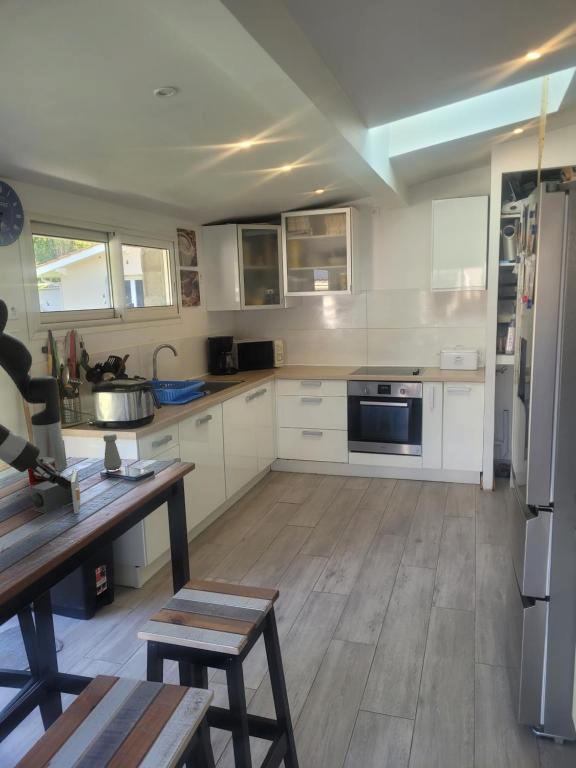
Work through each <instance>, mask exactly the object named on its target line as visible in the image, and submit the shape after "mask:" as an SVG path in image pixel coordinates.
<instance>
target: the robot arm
mask: <svg viewBox="0 0 576 768" xmlns="http://www.w3.org/2000/svg"><path fill="white" fill-rule="evenodd" d="M8 319H9V311H8V305H7V303H6V302H5V300H4V299H3V298H1V297H0V367H1V368H2V369H3V370H4V371H5V372H6V374H8V376H9V378H10V379H11V380H12V382H13V383H14V384H15V386H16V388H17V389H18V392H19V393H20V395H21V397H22V398H23V399H24V401H25V402H27V403H28V404H32V405H33V404H34V405H38V404H45V408H44V409H43V410H42V411H39V412H37V413H35V414H32V415H31V416H30V421H31V430H32V437H33V438H32V439H33V443H31V442H30V441H28V440H27V439H26V438H24V437H23V436H21V435H19V434H18V433H16V432H14V431H11V430H10V429H9V428H7V427H6V426H5V425H3V424H1V423H0V460H1V461H3V462H4V463H6V464H7V465H9V466H10V467H12V468H14V469H15V470H16V471H18V472H20V473H24V472H26V471H28V468H31V469H32V470H33V473H34V474H36V475H37V476H41V479H44V480H46V481H48V482H51V483H53V484H55V483H57V484H59V485H60V486H62V487H63V488H65V489H66V490H67V489H69V488H70V487H71V481H69V480H68V479H66V478H65V477H66V476H64V475H61V473H60V472H62V471H64V470H65V469H66V468H67V465H68V464H67V463H68V462H67V455H66V454H67V453H66V445H65V440H63V434H62V433H63V432H62V423H61V406H60V405H61V404H60V391H59V383H58V380H57V379H56V378H55V376H31V375H30V374H29V371H31V367H32V364H33V357H32V353H31V352H30V351H29V349H28V348H27V346H26V344H25V343H23V341H22V340H21V339H19V338H18V337H17V336H14V335H13V334H10V333H9V332H7V331H5V329H6V326H7V323H8ZM42 457H51V458H54V461H55V468H56V469H55V468H54V467H53V466H52V465H50V464H49V463H47V462H46V460H44V459H43V458H42ZM39 458H41V460H40V459H39Z"/></svg>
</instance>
